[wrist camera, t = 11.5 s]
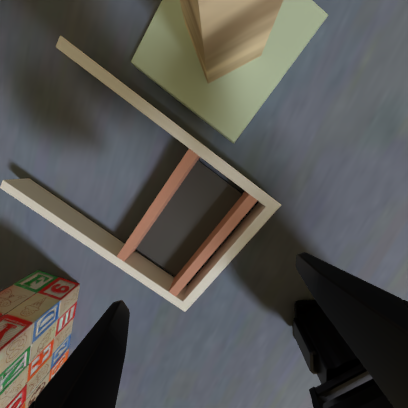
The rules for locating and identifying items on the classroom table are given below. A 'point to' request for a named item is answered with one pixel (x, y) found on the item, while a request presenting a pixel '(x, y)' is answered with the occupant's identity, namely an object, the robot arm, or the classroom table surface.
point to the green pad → (233, 81)
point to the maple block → (228, 31)
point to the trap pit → (188, 220)
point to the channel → (112, 246)
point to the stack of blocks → (34, 335)
